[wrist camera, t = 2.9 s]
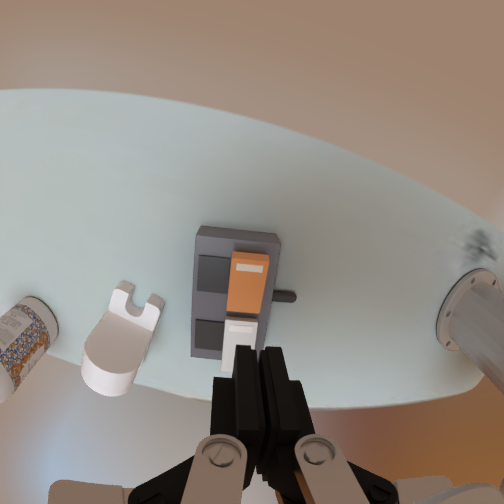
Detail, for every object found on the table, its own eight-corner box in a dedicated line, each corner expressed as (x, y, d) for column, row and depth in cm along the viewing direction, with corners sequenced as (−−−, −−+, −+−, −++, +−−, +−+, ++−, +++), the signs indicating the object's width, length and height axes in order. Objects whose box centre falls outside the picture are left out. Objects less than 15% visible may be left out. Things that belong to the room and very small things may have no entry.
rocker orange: (268, 254, 23) (269, 262, 22) (258, 305, 25) (259, 314, 24) (232, 251, 22) (231, 258, 21) (227, 303, 25) (226, 311, 24)
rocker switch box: (306, 237, 28) (316, 249, 24) (284, 344, 31) (290, 366, 28) (201, 225, 27) (195, 236, 23) (194, 337, 30) (190, 358, 27)
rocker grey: (257, 318, 26) (258, 322, 25) (250, 368, 26) (251, 374, 25) (225, 316, 25) (225, 320, 24) (221, 366, 26) (220, 372, 25)
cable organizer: (166, 300, 29) (138, 359, 19) (142, 363, 32) (118, 423, 22) (121, 278, 28) (78, 329, 19) (103, 344, 31) (71, 399, 21)
